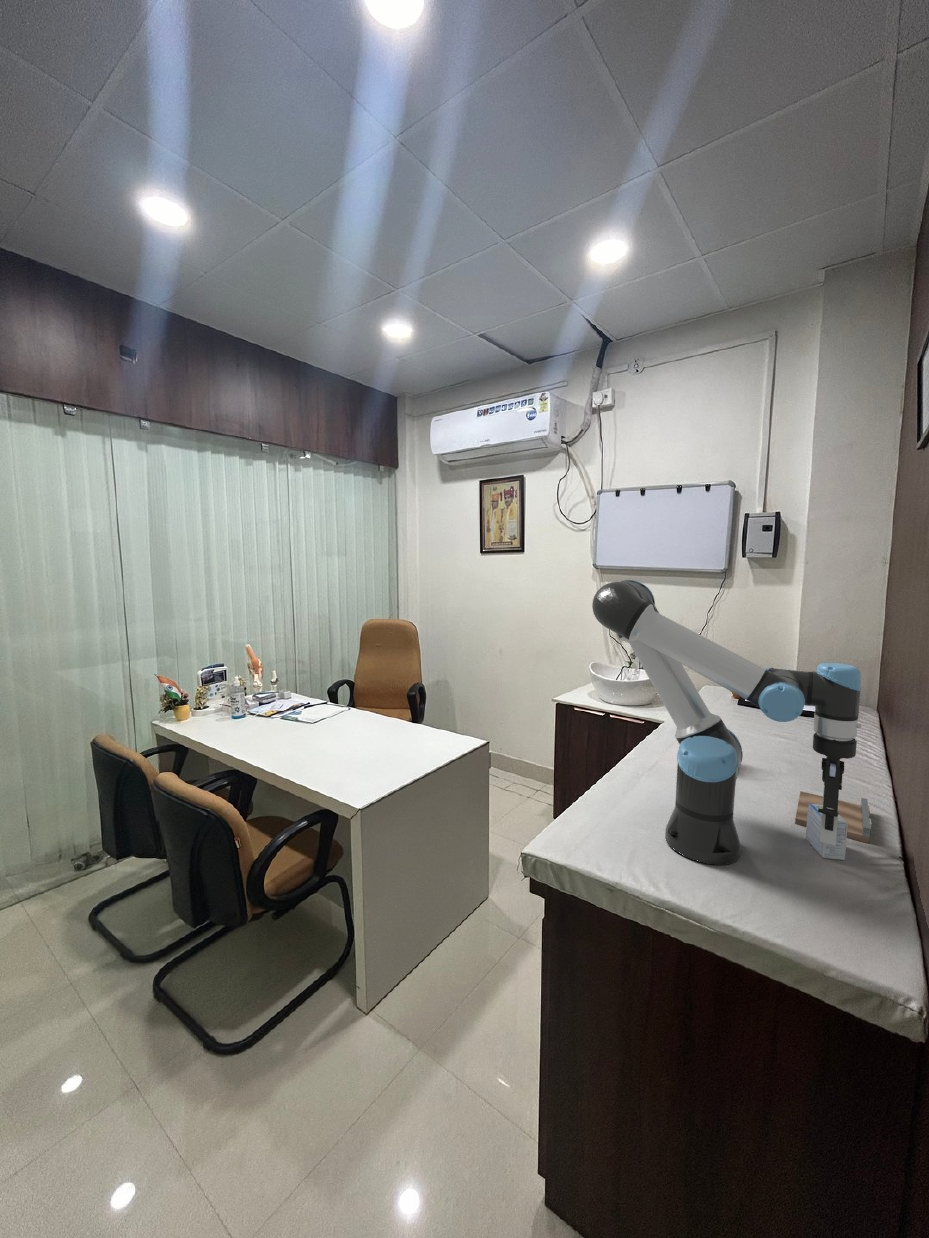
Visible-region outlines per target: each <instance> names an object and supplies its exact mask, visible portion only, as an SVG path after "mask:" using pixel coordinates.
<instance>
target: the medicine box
mask: <svg viewBox="0 0 929 1238" xmlns="http://www.w3.org/2000/svg"><path fill="white" fill-rule="evenodd" d="M818 808H819V809H822V808H823V805H819V804H809V805H808V813H807V826H806V827H805V828H806V829H805V840H807V842H808V843H809V844H810V845H811V846H812V847H813V849H815V851H816V852H817V853H818V854H819V855H820V856H821V857H822V858H823V859H829V860H830V859H831V860H838V861H839V860H841V861H845V860H846V852H847V851H846V850H847V849H846V848H847V839H848V838H847V822H846V821H845V820H844V819H843V818H842V817H841V816H840V815H839V814H838V822H837V836H836V846H835V845H831V844H827V843H823V842H820V831H821V816H822V813H820V812H818ZM828 809H831V808H828Z"/></svg>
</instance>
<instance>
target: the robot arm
mask: <svg viewBox="0 0 929 1238" xmlns="http://www.w3.org/2000/svg"><path fill="white" fill-rule="evenodd" d="M591 605H592V606H591V607H592V612H593V615H594V617H595V619H596V621H597V622H599V624H601V625H602V626H603V627H605V628H606V629H608V630H610V631H612V632H614V633H615V634H616V635H617V636H618V638H619V640H620V641H622V642H627V643H629V645H630V647H631V649H632V650H633V652H634V653H635V656H636V657H637V659H638V661H639V664H640V665H641V666H642V668H643V670H644V672H645V674H646V675H647V676H648V679H649V680H650V682H651V684H652V686H653V688H654V690H655V691H656V693H657V695H658V696H659V698H660V700H661V702H662V704H663V705H664V707H665V709H666V710H667V712H668V714H669V716H670V717H671V719H672V722H673V723H674V724H675V726H676V731H675V733H674V737H675V739H676V741H677V743H678V745H679V746H678V750H677V753H676V754H677V755H676V759H677V761H676V762H677V764H676V765H677V766H676V767H677V770H676V783H675V784H676V787H675V804H674V808H673V811H672V812H671V815H670V817H669V819H668V821H667V824H666V826H665V835H664V836H665V837H664V838H665V839H666V840H665V842H666V841H667V842H666V844H667V843H668V844H669V845H668V844H667V845H668V847H670V846H671V847H672V848H674V849H675V850H676V851H677V852H680V853H681V854H683V855H684V856H686V857H688V858H690V859H689V860H691V859H694V860H698V861H700V862H699V863H701V862H703V863H702V864H705V863H708V864H707V865H712V864H714V865H713V866H717V865H718V866H723V865H729V864H733V863H734V862H737V861H738V860H739V859H740V857H741V842H740V838H739V834H738V831H737V828H736V824H735V820H734V808H735V797H736V796H735V795H736V783H737V778H738V774H739V771H740V767H741V766H742V765H741V764H742V762H743V757H744V756H743V747H742V745H741V742H740V739H739V738H738V736H736V735H735V733H734V732H733V731H732V730H731V729H729V728H728V727H727V726H726V724H725V723H724V721H723V720H722V718H721V716H719V715H716V714H714V713H712V712H710V710H709V708H708V706H707V705H706V703H705V701H704V700H703V698H702V696H701V695H700V693H699V691H698V689H697V688H696V687H695V684H694V683H693V681H692V679H691V677H690V676H689V674H688V672H687V671H686V668H685V667H687V668H688V669H690V670H692V672H693V671H694V672H695V673H697V674H699V675H700V676H703V677H704V678H706V679H708V680H710V681H712V682H713V683H715V684H717V685H719V686H721V687H722V688H724V689H726V690H727V691H729V692H731V693H732V694H734V695H737V697H738V696H739V697H740V698H743V699H744V700H746V701H747V702H749V703H751V704H752V705H754V706H756V707H758V708H759V709H760V711H762V713H763V715H764V716H765V717H767V718H768V719H770V720H772V721H775V722H778V723H787V722H788V723H789V722H791V721H792V722H793V721H794V720H796V719H797V718H799V717H800V716H801V715H802V713H803V711H804V707H805V706H807V707H814V708H815V710H814V713H813V715H814V716H813V732H814V733H813V735H812V749H813V751H815V752H816V753H817V754H820V755H823V756H825V757H826V758H825V757H822V758H821V766H820V767H821V768H820V769H821V771H822V772H821V773H822V774H821V775H822V776H821V781H822V782H823V785H824V786H823V795H822V796H823V808H822V809H819V808H818V812H820V813H822V816H821V831H820V842H823V843H827V844H831V845H835V846H836V836H837V822H838V800H839V796H840V795H839V794H840V790H841V791H843V790H842V788H843V785H842V784H843V774H844V773H845V761H842V759H847V760H848V759H853V758H855V757H856V756H857V744H858V743H857V742H858V741H857V739H856V738H857V736H858V729H861V728H862V723H858V722H859V721H858V720H859V713H860V712H859V711H860V703H861V702H860V701H861V690H862V688H861V685H862V684H861V683H862V682H861V679H862V678H861V677H862V674H861V673H862V672H861V670H860V669H859V668H858V667H856V666H854V665H851V664H846V663H837V662H833V663H832V662H822V663H819V664H818V665H817V667H816V668H817V669H816V671H804V670H794V669H793V670H792V669H783V668H774V667H762V666H761V665H759V664H757V663H755V662H753V661H751V660H749V659H747V658H745V657H743V656H741V655H739V654H737V653H736V652H734V651H732V650H730V649H728V648H726V647H724V646H722V645H720V644H718V643H717V642H714V641H712V640H710V639H709V638H707V637H705V636H703V635H701V634H699V633H698V632H695V631H693V630H691V629H689V628H688V627H685V626H684V625H681V624H680V623H679V622H676V621H674V620H672V619H671V618H669V617H666V616H665V615H663V614H661V613H660V612H659V610H658V608H657V606H656V602H655V597H654V594H653V593H652V590H650V588H649V587H648V586H647V585H645V584H644V583H642V582H639V581H638V580H633V579H632V580H631V579H625V580H620V581H611V582H608V583H605V584H604V585H602V586H601V587H600V588H599V589H598V590H597V591H596V592H595V594H594V596H593V599H592V603H591ZM828 808H831V809H828ZM671 847H670V848H671ZM672 848H671V849H672ZM677 852H676V853H677ZM684 856H683V857H684ZM686 857H685V858H686ZM688 858H687V859H688ZM694 860H693V861H694Z"/></svg>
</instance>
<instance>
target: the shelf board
mask: <svg viewBox="0 0 929 1238" xmlns="http://www.w3.org/2000/svg"><path fill="white" fill-rule="evenodd" d="M809 804H819V805H823V795H818V794H813V793H809V792H805V791H799V798H798V802H797V808H796V813H795V819H794V825H798V826H802V827H805V828H806V826H807V813H808V805H809ZM870 809H871V808H870V805H869V802H868V799H867V798H864V797H861V798H860V804H856V803H854V802H853V803H852V802H848V801H843V800H840V799H838V814H839V815H840V816H841V817H842V818H843V819H844V820H845V821H846V822H847V838H846V839H851V840H855V841H857V840H858V842H861V843H865V844H870V838H871V829H872V819H871V818H870V814H871V813H870V812H871V810H870Z"/></svg>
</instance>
